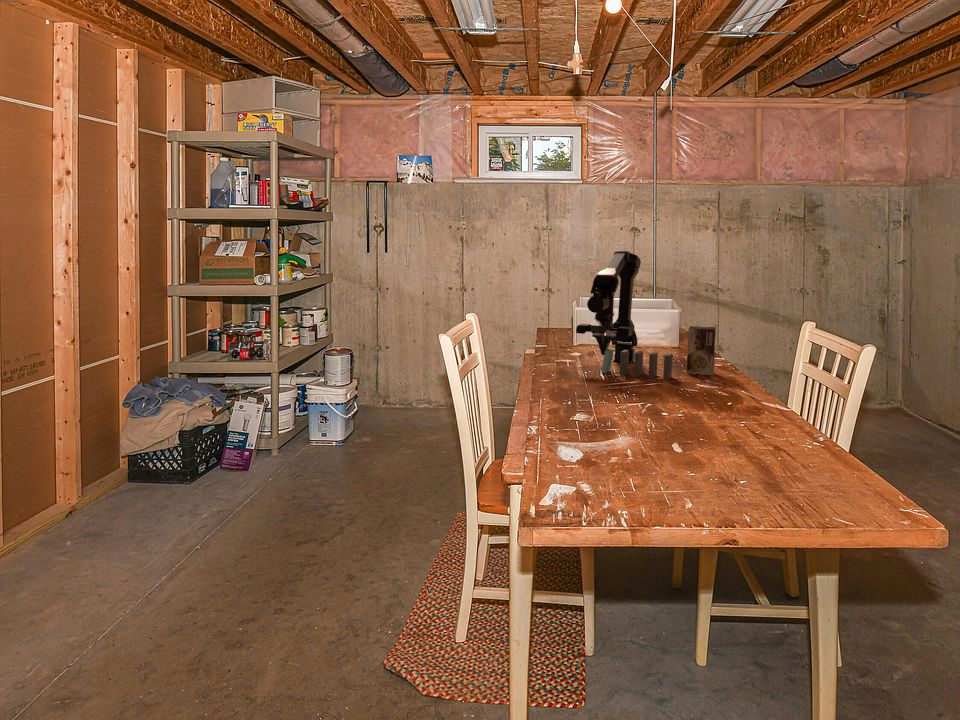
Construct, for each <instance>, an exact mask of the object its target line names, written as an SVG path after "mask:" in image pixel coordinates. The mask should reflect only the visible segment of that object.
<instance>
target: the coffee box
mask: <svg viewBox="0 0 960 720" xmlns="http://www.w3.org/2000/svg"><path fill="white" fill-rule="evenodd" d="M687 330H688V331H687V333H688V334H687V354H686V373H685V374H686V375H696V374H699V375H698V376H714V373H715V357H716V356H715V355H716V334H717V327H716V326H688V329H687Z"/></svg>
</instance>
